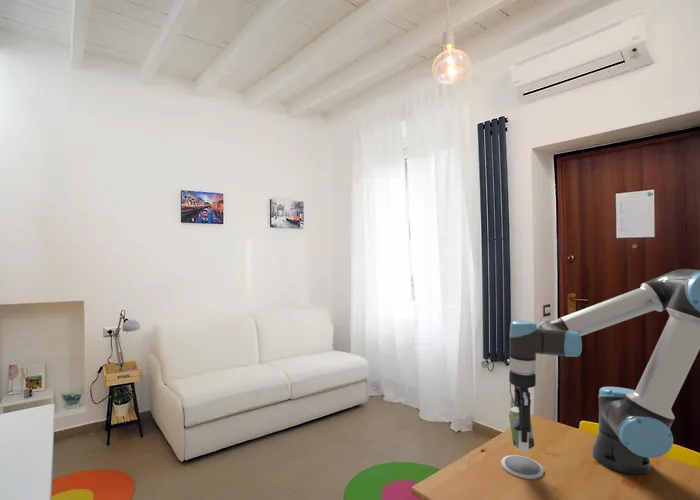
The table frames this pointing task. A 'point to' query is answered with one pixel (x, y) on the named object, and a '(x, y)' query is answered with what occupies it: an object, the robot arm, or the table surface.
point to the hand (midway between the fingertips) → (521, 445)
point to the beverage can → (515, 424)
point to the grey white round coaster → (522, 467)
